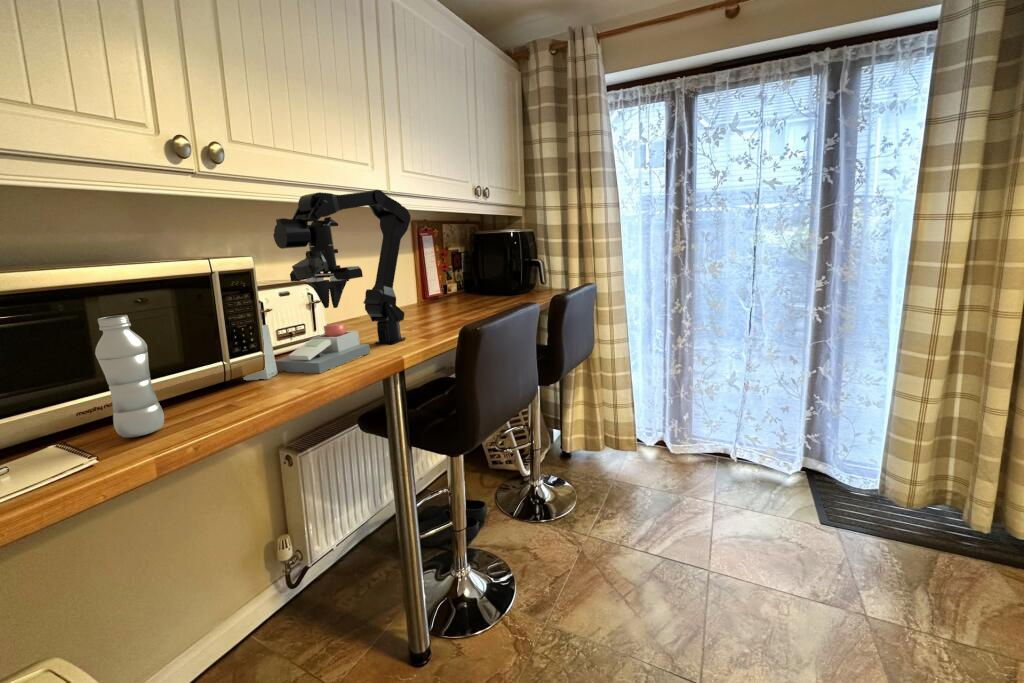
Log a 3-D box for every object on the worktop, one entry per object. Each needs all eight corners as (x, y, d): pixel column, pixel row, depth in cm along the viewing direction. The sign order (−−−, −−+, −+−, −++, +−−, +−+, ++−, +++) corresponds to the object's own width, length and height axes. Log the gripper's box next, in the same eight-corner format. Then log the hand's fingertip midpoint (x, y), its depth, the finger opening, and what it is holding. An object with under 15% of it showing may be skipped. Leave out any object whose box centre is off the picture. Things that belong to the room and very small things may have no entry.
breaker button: (335, 336, 126) (333, 323, 125) (350, 336, 124) (348, 323, 124) (321, 340, 122) (319, 327, 121) (336, 340, 120) (334, 327, 119)
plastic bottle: (115, 436, 79) (83, 319, 75) (164, 423, 84) (136, 312, 80) (120, 446, 75) (85, 322, 70) (171, 431, 79) (141, 314, 75)
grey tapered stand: (278, 374, 111) (269, 324, 108) (267, 379, 107) (257, 328, 104) (254, 375, 112) (244, 325, 109) (242, 381, 108) (232, 329, 105)
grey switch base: (329, 352, 130) (325, 330, 129) (370, 353, 125) (367, 331, 124) (275, 371, 114) (271, 346, 113) (320, 373, 109) (315, 348, 108)
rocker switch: (313, 343, 120) (311, 338, 119) (331, 343, 118) (329, 339, 117) (290, 359, 113) (288, 354, 113) (309, 360, 111) (307, 355, 110)
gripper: (267, 249, 114) (278, 313, 118) (326, 245, 107) (337, 313, 110) (302, 247, 124) (312, 306, 128) (359, 243, 117) (368, 305, 120)
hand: (331, 307), depth 121 cm, fingers open, 3 cm apart
